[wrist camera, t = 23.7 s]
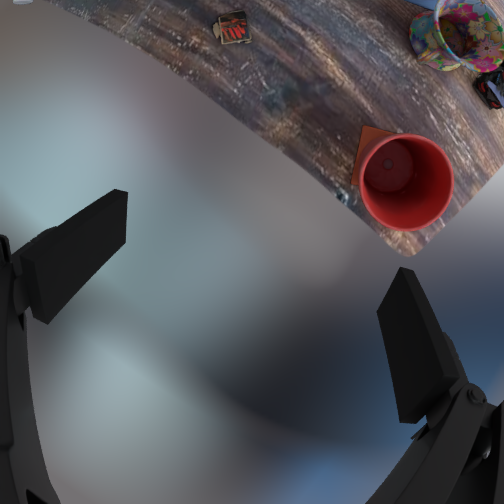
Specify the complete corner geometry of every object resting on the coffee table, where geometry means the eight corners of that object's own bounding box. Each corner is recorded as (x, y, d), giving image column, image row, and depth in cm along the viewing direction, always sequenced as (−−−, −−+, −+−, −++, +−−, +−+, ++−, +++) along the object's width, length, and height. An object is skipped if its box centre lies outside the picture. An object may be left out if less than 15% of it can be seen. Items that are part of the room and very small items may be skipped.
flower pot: (366, 109, 35) (386, 113, 26) (436, 148, 35) (469, 165, 27) (333, 181, 40) (341, 206, 32) (402, 215, 40) (424, 247, 32)
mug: (435, -1, 26) (470, -21, 16) (476, 55, 28) (519, 51, 19) (375, 39, 31) (398, 22, 21) (420, 96, 33) (455, 100, 24)
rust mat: (362, 124, 36) (363, 125, 36) (419, 140, 36) (419, 141, 35) (350, 183, 40) (350, 183, 40) (404, 196, 40) (405, 197, 39)
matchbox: (242, 7, 31) (241, 6, 31) (258, 39, 33) (258, 38, 32) (209, 21, 32) (208, 21, 32) (224, 53, 34) (223, 53, 34)
